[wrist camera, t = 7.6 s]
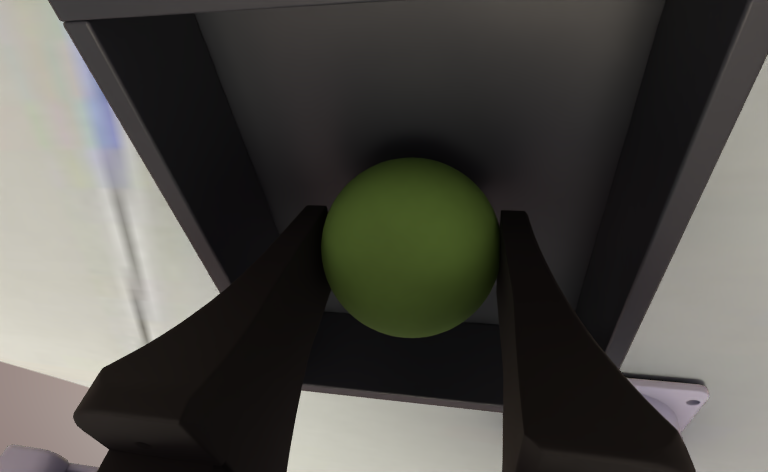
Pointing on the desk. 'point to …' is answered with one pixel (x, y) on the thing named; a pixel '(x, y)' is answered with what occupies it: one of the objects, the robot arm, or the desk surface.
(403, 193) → the pea ball
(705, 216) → the desk surface
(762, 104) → the desk surface
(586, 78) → the open box
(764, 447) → the desk surface
